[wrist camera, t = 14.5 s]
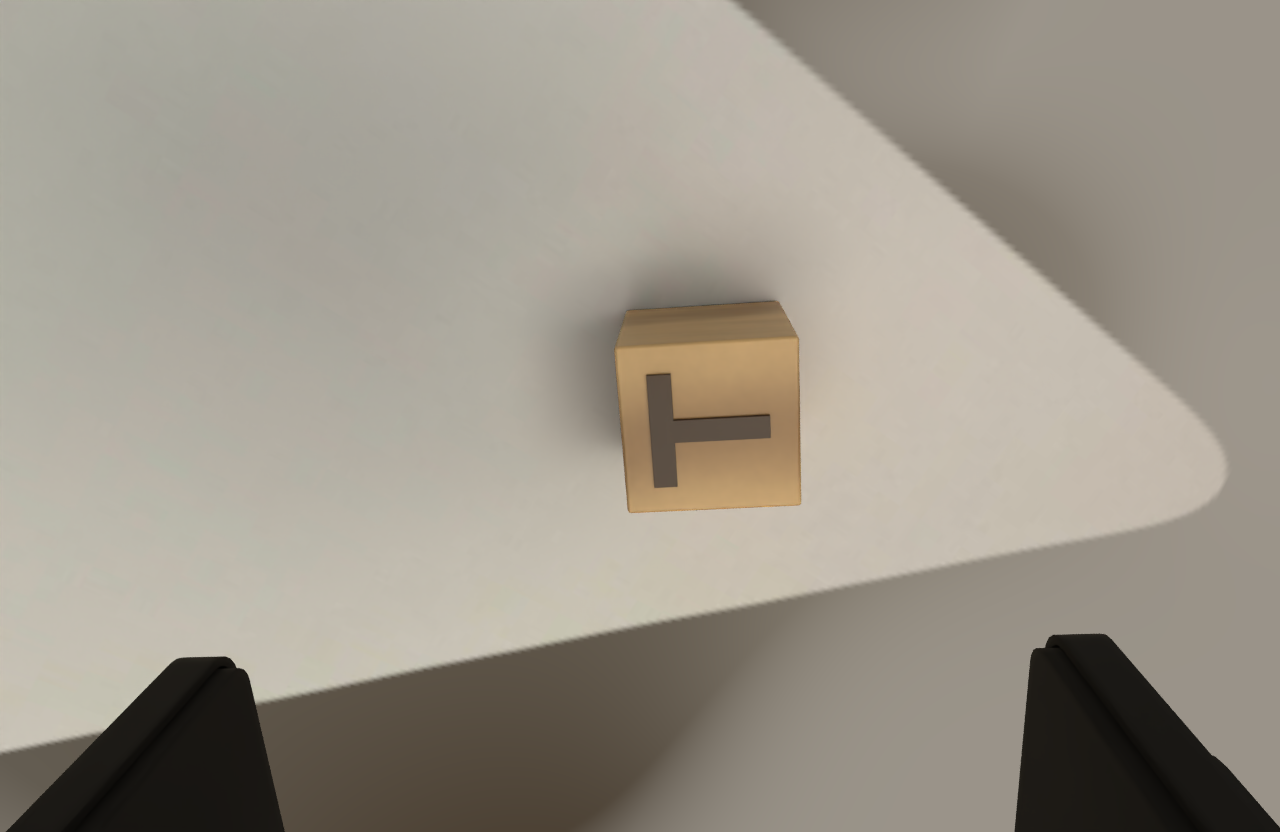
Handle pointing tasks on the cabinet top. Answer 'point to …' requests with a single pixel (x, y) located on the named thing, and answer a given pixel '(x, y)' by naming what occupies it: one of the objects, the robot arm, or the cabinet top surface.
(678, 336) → the tile
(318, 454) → the cabinet top surface
